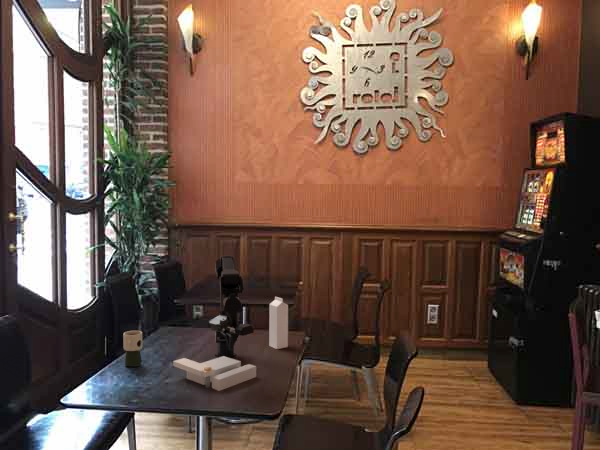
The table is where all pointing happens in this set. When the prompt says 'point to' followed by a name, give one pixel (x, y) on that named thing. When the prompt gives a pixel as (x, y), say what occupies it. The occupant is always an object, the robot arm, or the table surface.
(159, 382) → the table surface
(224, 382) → the white block with cutout
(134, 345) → the character mug
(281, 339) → the milk
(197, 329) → the table surface
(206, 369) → the cover
